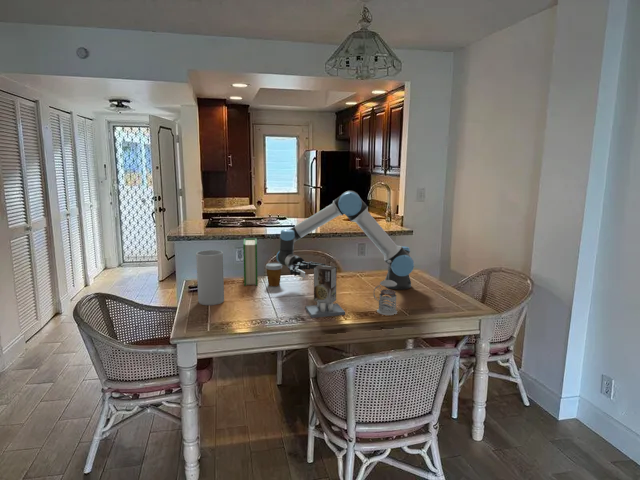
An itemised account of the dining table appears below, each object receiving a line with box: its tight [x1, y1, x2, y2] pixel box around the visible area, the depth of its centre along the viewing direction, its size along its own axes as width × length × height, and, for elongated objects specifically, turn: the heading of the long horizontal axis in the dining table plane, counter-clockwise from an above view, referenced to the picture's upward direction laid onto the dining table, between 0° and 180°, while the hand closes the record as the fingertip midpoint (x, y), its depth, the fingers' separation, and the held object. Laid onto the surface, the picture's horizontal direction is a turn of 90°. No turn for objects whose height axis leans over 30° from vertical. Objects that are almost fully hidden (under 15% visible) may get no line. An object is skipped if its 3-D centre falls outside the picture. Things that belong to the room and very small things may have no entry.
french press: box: [373, 260, 398, 316], centre depth 197 cm, size 10×12×25 cm
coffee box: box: [313, 264, 338, 304], centre depth 195 cm, size 9×6×16 cm
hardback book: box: [242, 237, 258, 287], centre depth 244 cm, size 18×7×24 cm, turn 9°
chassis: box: [304, 301, 346, 319], centre depth 197 cm, size 16×12×6 cm
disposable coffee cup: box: [265, 262, 283, 287], centre depth 239 cm, size 10×10×12 cm
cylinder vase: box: [195, 249, 225, 306], centre depth 208 cm, size 12×12×25 cm
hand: (316, 273), depth 203 cm, fingers open, 13 cm apart
